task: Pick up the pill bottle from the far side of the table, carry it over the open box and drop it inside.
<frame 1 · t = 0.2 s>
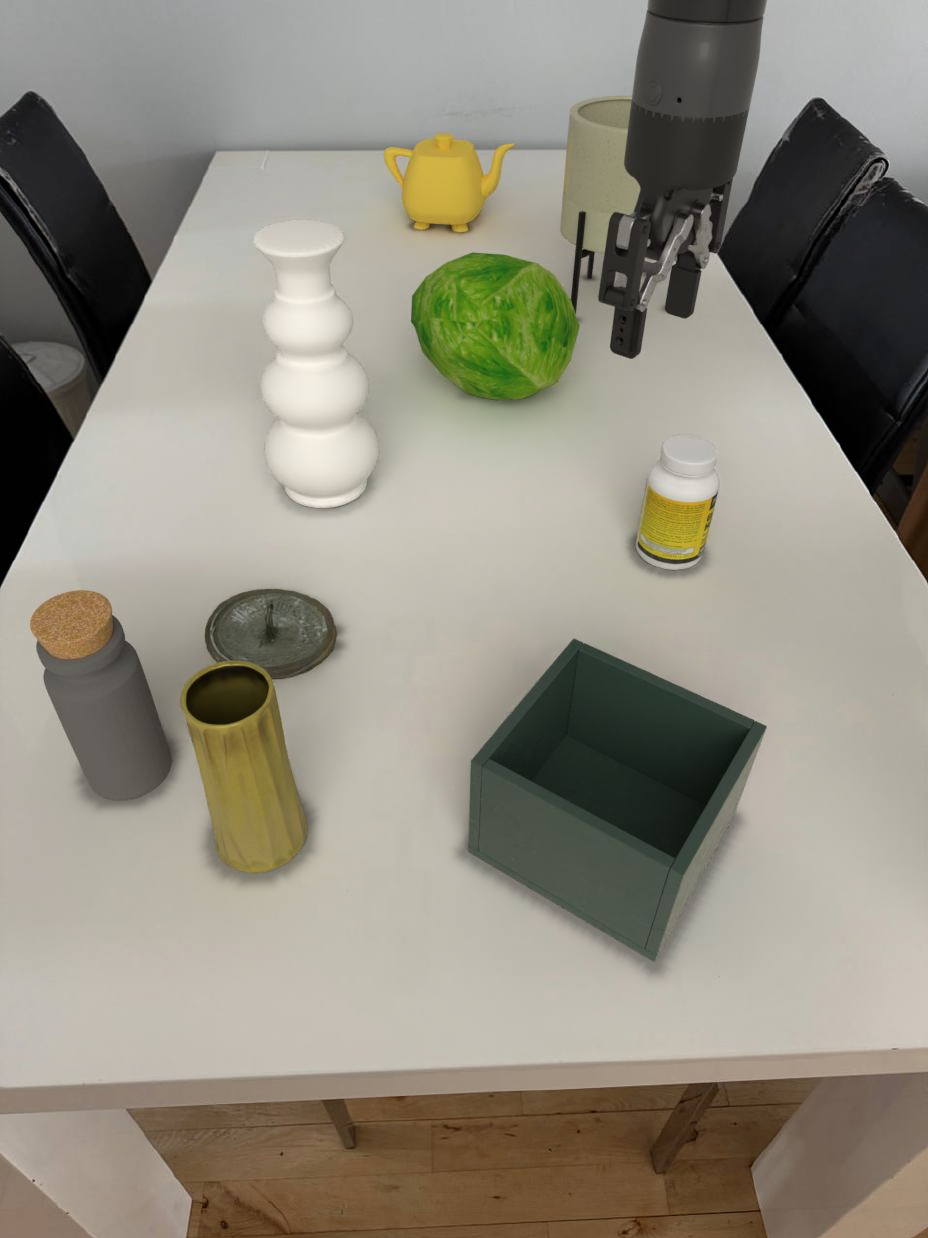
hand: (652, 333, 70), 21 cm above the table, tool pointing down, fingers open, 8 cm apart
planter: (613, 303, 123), on the table
teapot: (448, 222, 144), on the table
vase: (262, 836, 61), on the table
lid: (274, 647, 74), on the table
vase 2: (326, 490, 91), on the table
pill bottle: (668, 552, 84), on the table
bottle: (131, 769, 65), on the table
open box: (602, 834, 62), on the table
lettuce: (492, 386, 106), on the table
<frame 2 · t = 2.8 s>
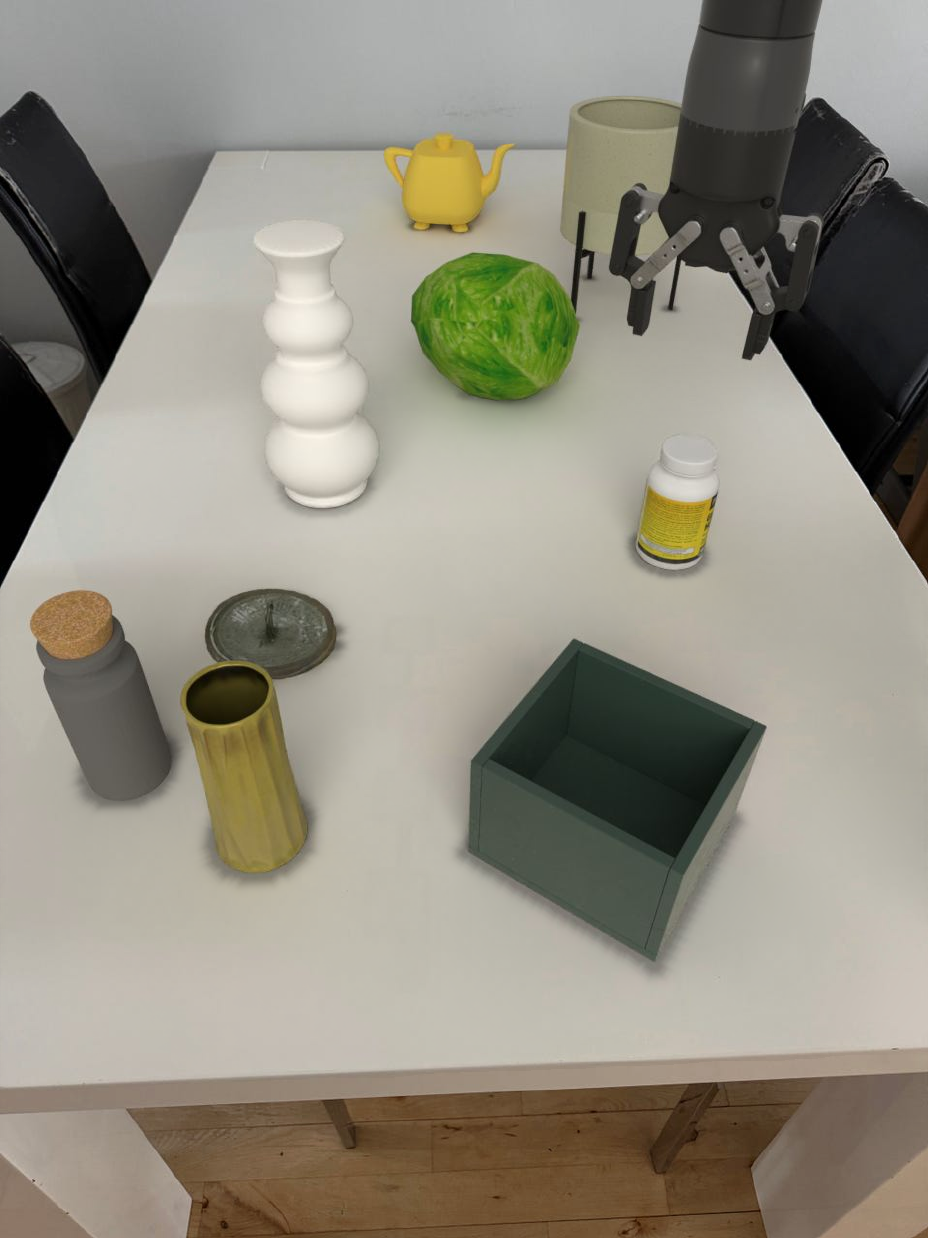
hand: (693, 343, 70), 20 cm above the table, tool pointing down, fingers open, 8 cm apart
nothing on the table moved.
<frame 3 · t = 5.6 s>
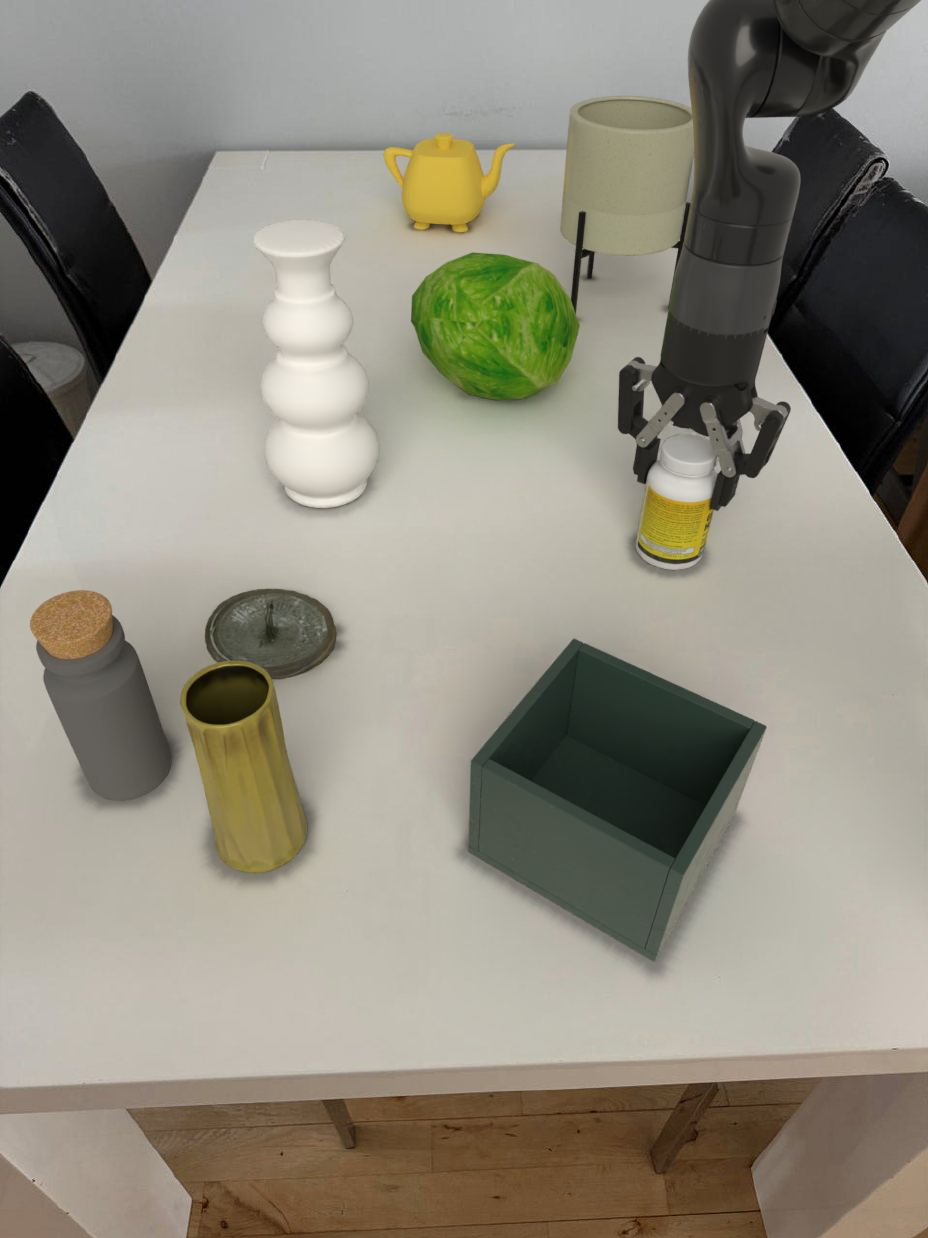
hand: (681, 491, 79), 7 cm above the table, tool pointing down, fingers closed on pill bottle, 6 cm apart
pill bottle: (668, 552, 84), on the table, touching gripper
everything else where it was.
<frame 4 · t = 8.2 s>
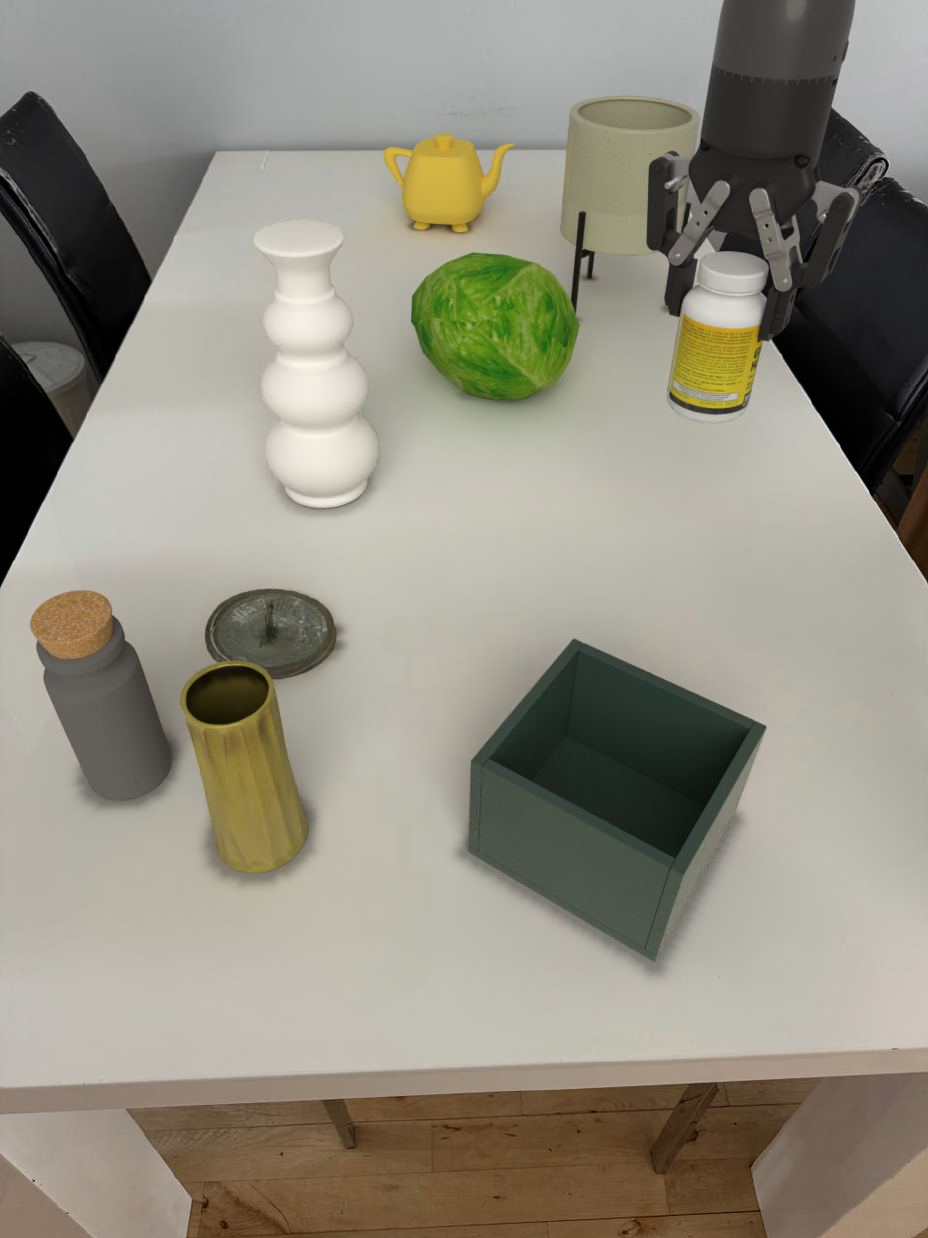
hand: (722, 323, 66), 23 cm above the table, tool pointing down, fingers closed on pill bottle, 6 cm apart
pill bottle: (705, 408, 71), point 16 cm above the table, touching gripper
everything else where it was.
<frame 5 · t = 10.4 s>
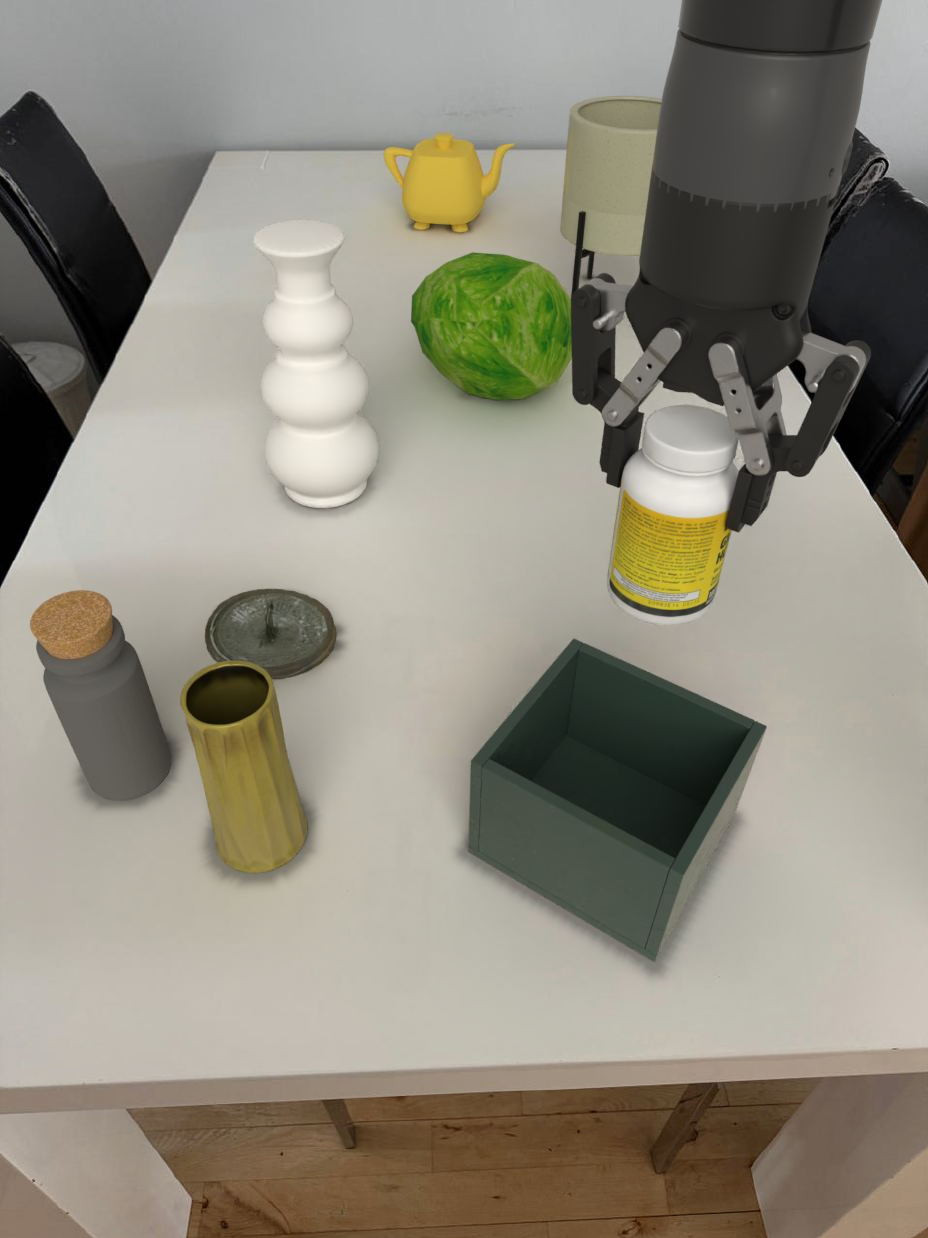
hand: (678, 500, 48), 24 cm above the table, tool pointing down, fingers closed on pill bottle, 6 cm apart
pill bottle: (658, 596, 53), point 17 cm above the table, touching gripper
everything else where it was.
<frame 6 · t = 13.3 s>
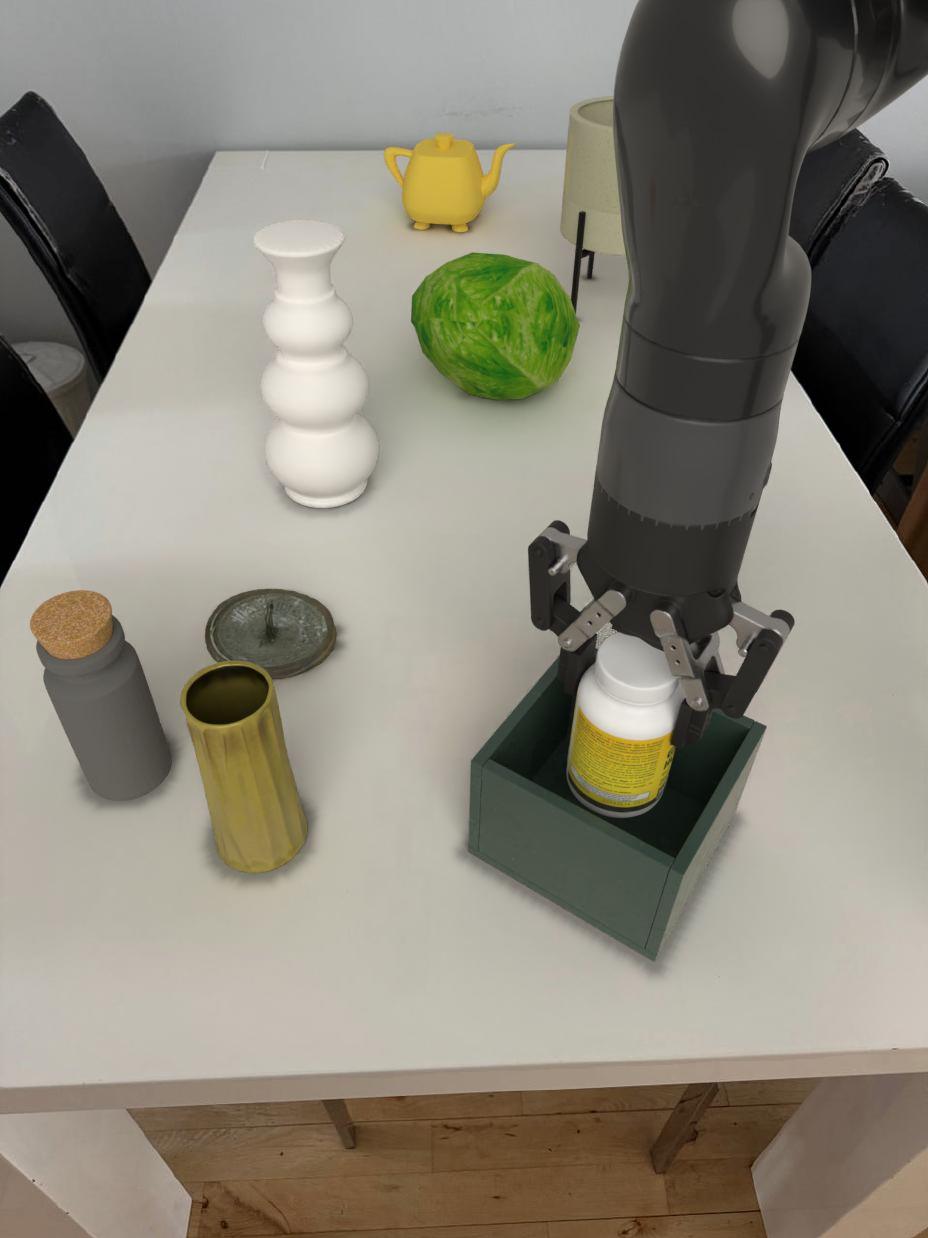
hand: (629, 711, 53), 13 cm above the table, tool pointing down, fingers closed on pill bottle, 6 cm apart
pill bottle: (614, 782, 57), point 6 cm above the table, touching gripper
everything else where it was.
when the fingers open (7 cm above the table, at t = 15.4 s): pill bottle stays where it is, resting on open box.
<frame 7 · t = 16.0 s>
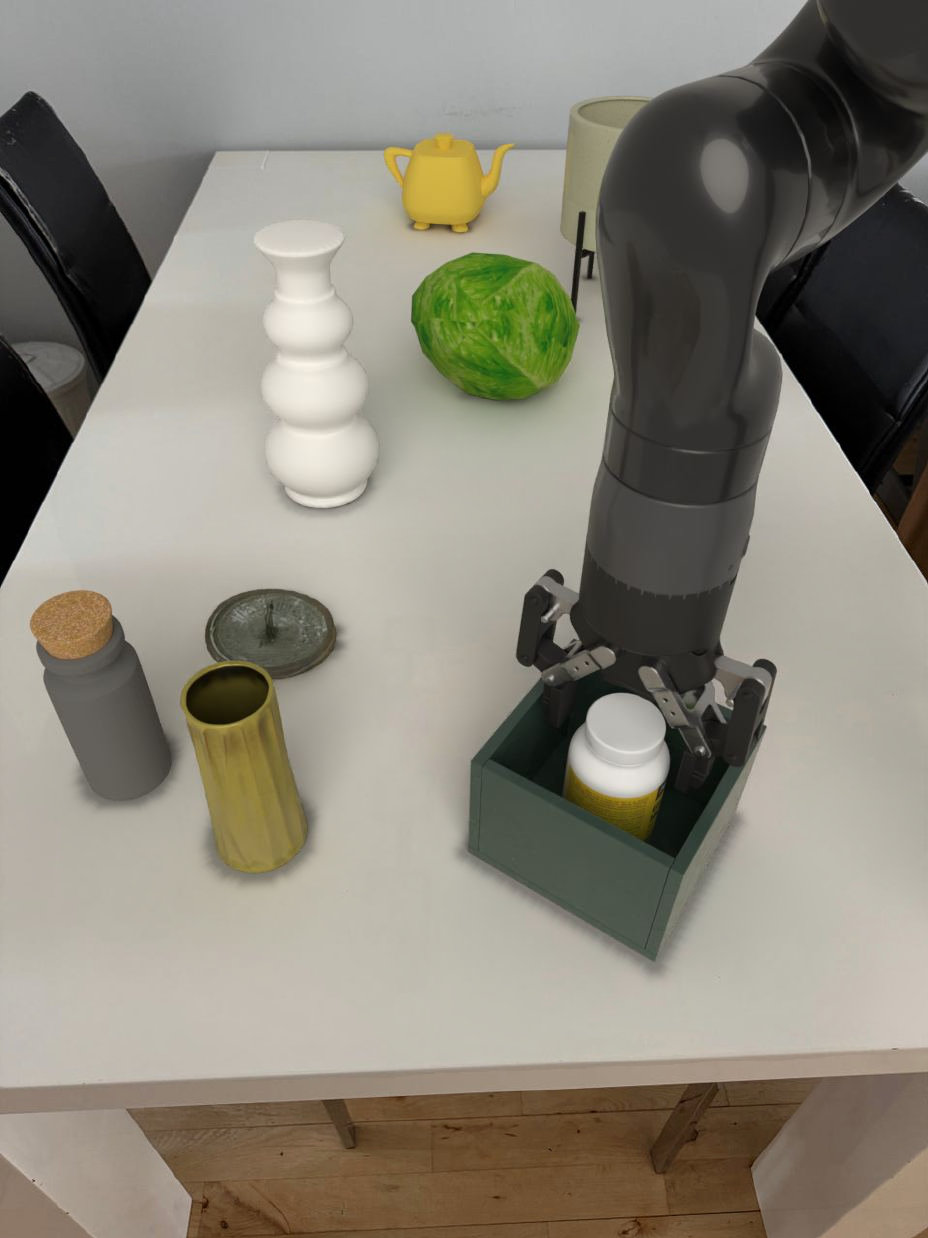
hand: (621, 749, 55), 9 cm above the table, tool pointing down, fingers open, 8 cm apart
pill bottle: (603, 830, 61), point 1 cm above the table, touching open box
everything else where it was.
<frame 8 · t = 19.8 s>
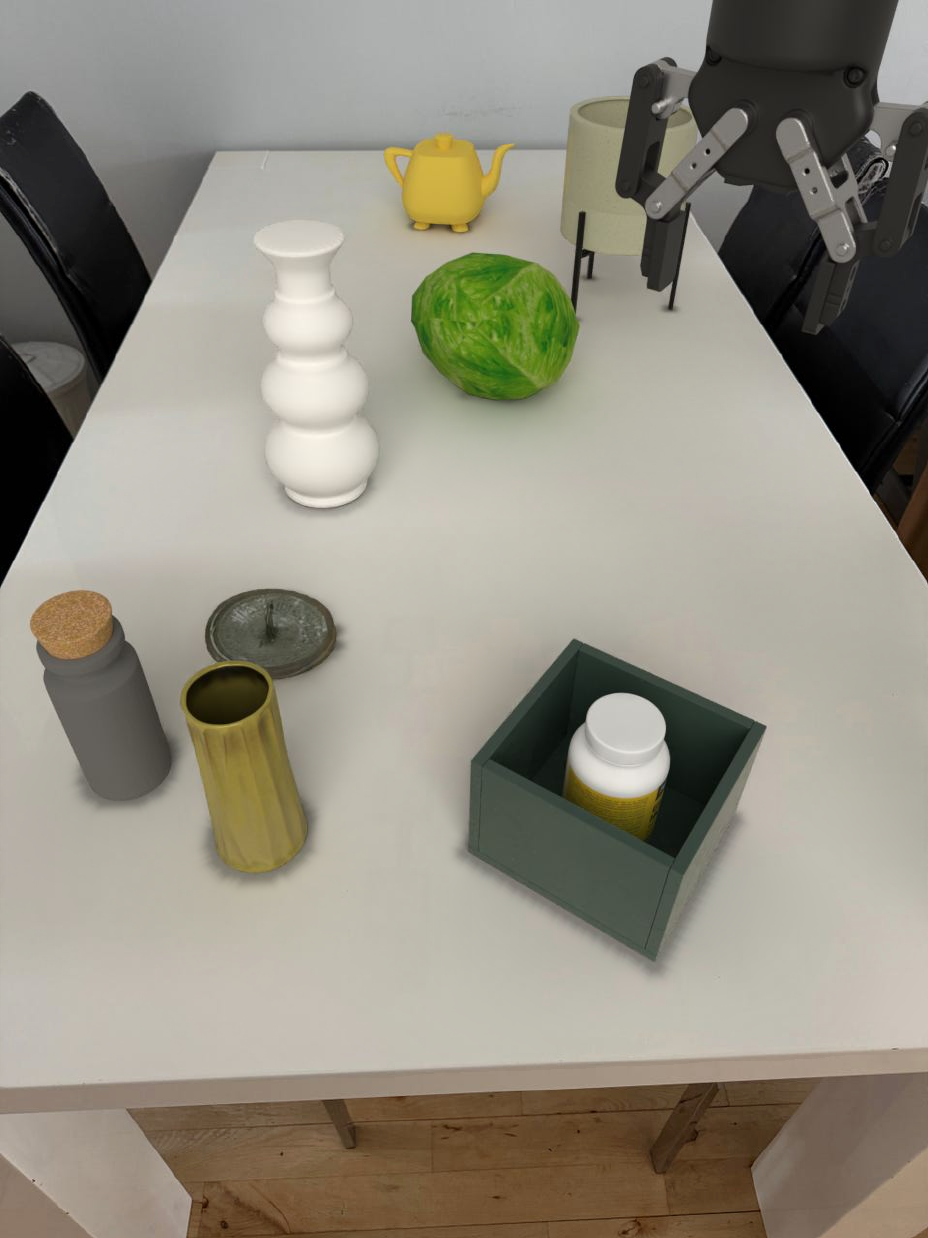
hand: (734, 306, 48), 32 cm above the table, tool pointing down, fingers open, 8 cm apart
nothing on the table moved.
at the end: pill bottle inside the target area in the open box (0.1 cm from its centre), point 0.6 cm above the open box's base; the gripper is holding nothing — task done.
